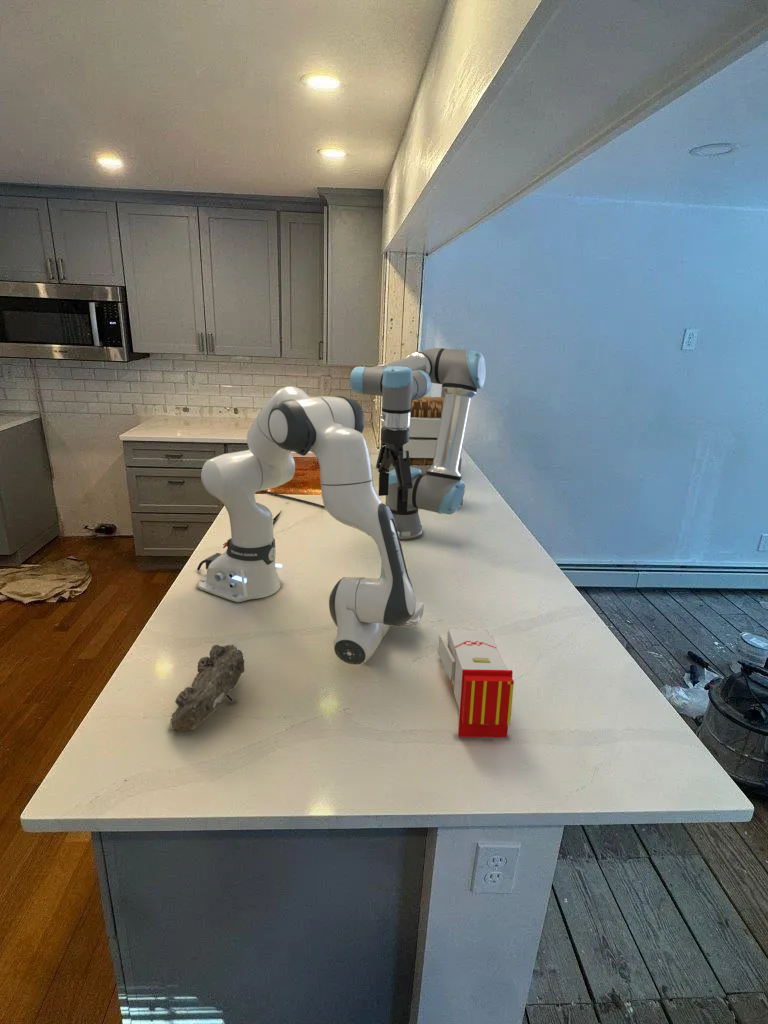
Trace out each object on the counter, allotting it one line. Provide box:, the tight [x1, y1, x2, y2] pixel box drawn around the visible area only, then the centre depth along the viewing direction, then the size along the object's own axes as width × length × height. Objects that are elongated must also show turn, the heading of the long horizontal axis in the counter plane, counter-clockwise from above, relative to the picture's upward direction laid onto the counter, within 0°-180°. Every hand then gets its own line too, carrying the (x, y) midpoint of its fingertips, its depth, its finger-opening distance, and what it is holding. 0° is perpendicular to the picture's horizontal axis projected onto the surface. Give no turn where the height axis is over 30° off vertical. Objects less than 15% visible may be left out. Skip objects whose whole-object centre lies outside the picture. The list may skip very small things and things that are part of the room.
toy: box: [437, 628, 515, 738], centre depth 117 cm, size 12×13×30 cm
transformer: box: [389, 389, 463, 475], centre depth 268 cm, size 34×33×41 cm
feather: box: [273, 510, 282, 526], centre depth 212 cm, size 2×28×2 cm
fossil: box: [170, 644, 246, 733], centre depth 111 cm, size 22×10×15 cm
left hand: (390, 591), depth 146 cm, fingers open, 8 cm apart
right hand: (392, 503), depth 157 cm, fingers open, 13 cm apart
